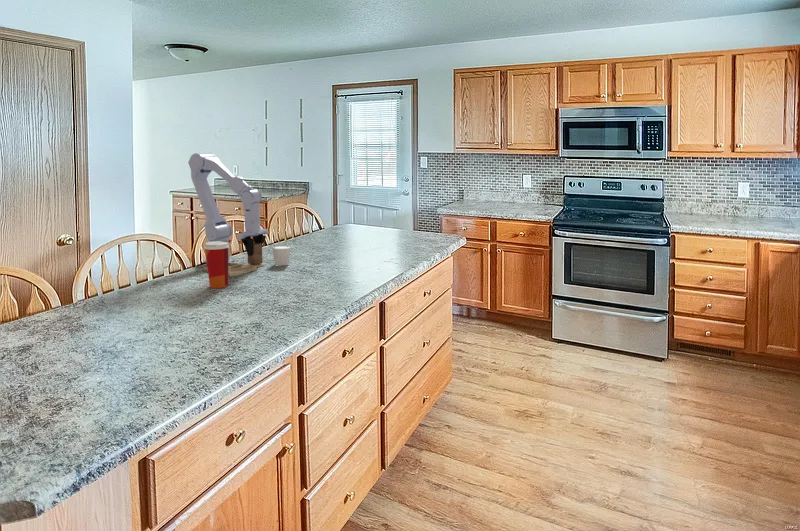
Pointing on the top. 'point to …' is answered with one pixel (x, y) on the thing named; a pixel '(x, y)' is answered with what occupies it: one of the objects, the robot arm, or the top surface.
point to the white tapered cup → (281, 255)
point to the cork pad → (255, 265)
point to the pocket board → (237, 269)
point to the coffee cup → (217, 263)
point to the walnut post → (256, 254)
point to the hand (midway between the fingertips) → (254, 254)
